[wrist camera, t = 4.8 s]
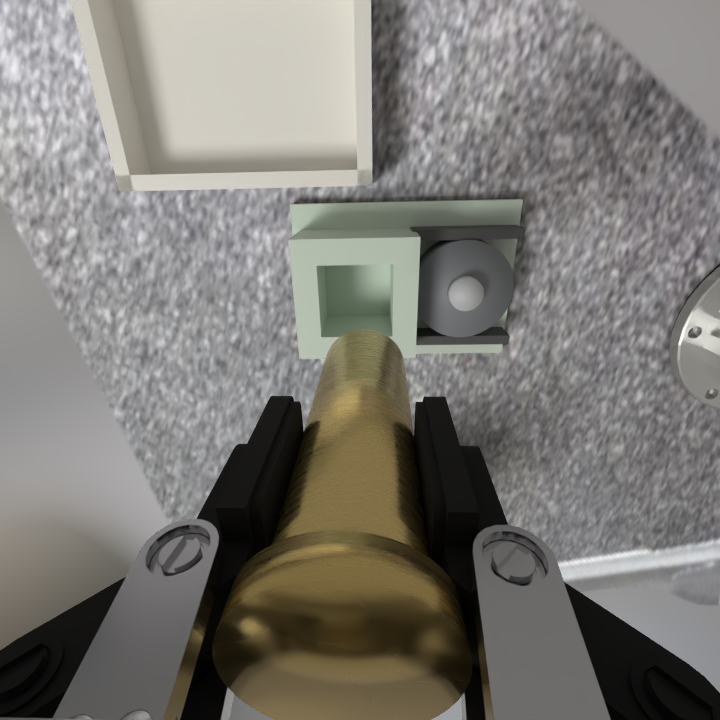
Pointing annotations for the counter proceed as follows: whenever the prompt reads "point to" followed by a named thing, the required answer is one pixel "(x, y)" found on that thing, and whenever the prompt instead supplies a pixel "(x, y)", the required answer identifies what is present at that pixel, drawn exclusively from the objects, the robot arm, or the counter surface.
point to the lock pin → (348, 566)
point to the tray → (232, 91)
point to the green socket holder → (405, 273)
